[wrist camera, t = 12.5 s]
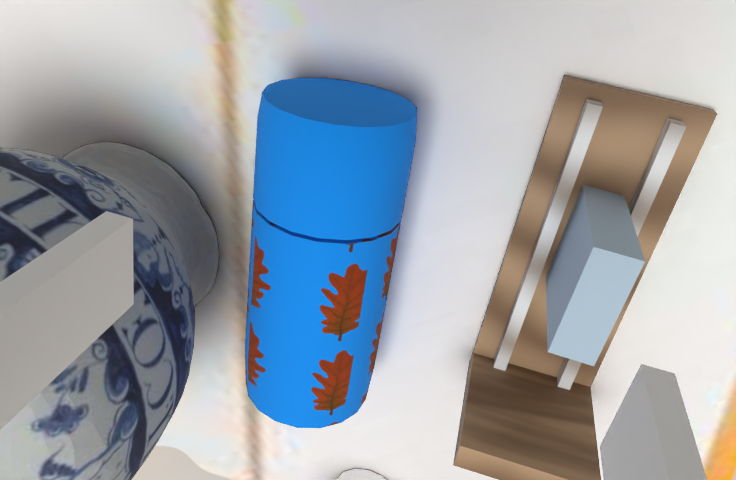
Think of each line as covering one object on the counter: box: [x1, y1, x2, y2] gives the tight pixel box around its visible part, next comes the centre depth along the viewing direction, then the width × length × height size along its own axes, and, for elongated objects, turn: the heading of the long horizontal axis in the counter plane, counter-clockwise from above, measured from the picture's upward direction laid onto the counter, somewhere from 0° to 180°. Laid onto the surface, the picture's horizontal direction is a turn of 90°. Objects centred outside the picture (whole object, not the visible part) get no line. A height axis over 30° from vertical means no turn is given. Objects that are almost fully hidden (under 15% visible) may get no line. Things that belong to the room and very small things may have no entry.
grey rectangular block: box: [546, 185, 645, 366], centre depth 42 cm, size 8×3×10 cm, turn 168°
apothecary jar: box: [0, 142, 219, 480], centre depth 45 cm, size 27×27×30 cm
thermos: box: [245, 78, 417, 428], centre depth 48 cm, size 11×11×25 cm
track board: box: [453, 75, 717, 480], centre depth 43 cm, size 26×10×12 cm, turn 169°
